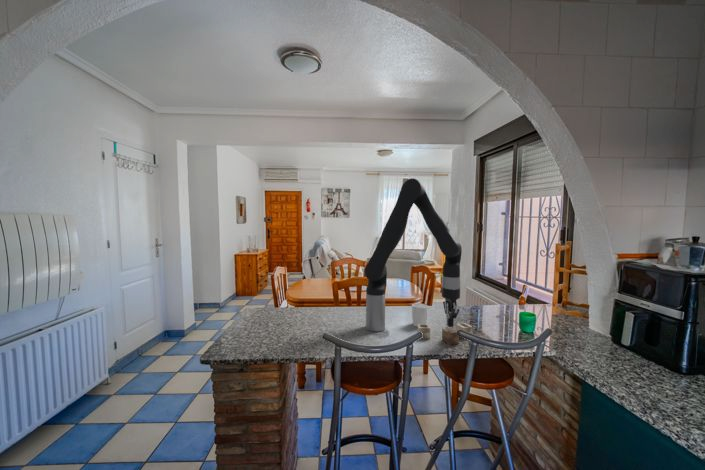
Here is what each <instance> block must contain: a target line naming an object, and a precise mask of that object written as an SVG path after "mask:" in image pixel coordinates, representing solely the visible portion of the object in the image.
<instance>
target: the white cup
mask: <svg viewBox="0 0 705 470" xmlns="http://www.w3.org/2000/svg"><path fill="white" fill-rule="evenodd" d="M428 312H429V309H428V305H427V304H425V303H419V302H418V303H413V304H411V315H412V316H411V317H412V319H411V320H412V325H413V327H414V326H415V327H417V326H418V324H427V320H428Z"/></svg>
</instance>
